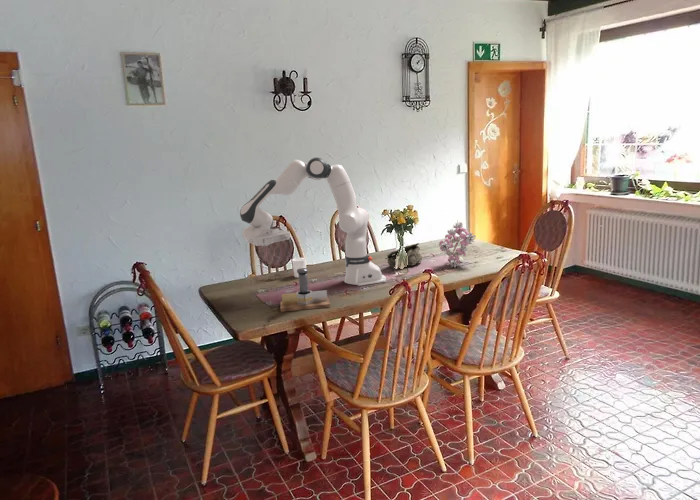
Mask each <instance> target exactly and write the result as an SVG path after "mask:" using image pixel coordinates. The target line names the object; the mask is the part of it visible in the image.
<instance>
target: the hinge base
mask: <svg viewBox="0 0 700 500" xmlns="http://www.w3.org/2000/svg"><path fill="white" fill-rule="evenodd" d="M322 308H331V302H330V298H329V297H328V296H327V301H319V302H313V303H312V304H308V305H298V304H287V305H282V300H280V312H283V313H284V312H292V311H303V310H312V309H322Z"/></svg>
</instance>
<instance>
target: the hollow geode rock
mask: <svg viewBox="0 0 700 500" xmlns="http://www.w3.org/2000/svg"><path fill="white" fill-rule="evenodd" d="M419 244H420V243H419V242H417V243H415V244H411V245H407V246H403V248H405V251H406V253H407V256H408V266H415V265H417V264H420V263H421V262H422V260H423V255H422V254H421V252H419V251H420V250H421V249H420V247H419ZM398 251H399V249H398V250H394V251H392V252H390V253H388V254H387V255H386V256H387V257H385V258H384V259H385V260H387V264H388V266H389V267H391V268H392V269H394V270H396V269H395V268H394V267H395V259H396V255H397V253H398Z"/></svg>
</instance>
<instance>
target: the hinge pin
mask: <svg viewBox="0 0 700 500" xmlns="http://www.w3.org/2000/svg"><path fill="white" fill-rule="evenodd" d="M308 272H309V269H308V268H307V267H306V268H300V269H297V273H298V275H299V278H298V284H299V285H298V287H299V291H300V294H304V295H305V294H308V293H309V292H308V290H309V282H308V280H309V279H308Z"/></svg>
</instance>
